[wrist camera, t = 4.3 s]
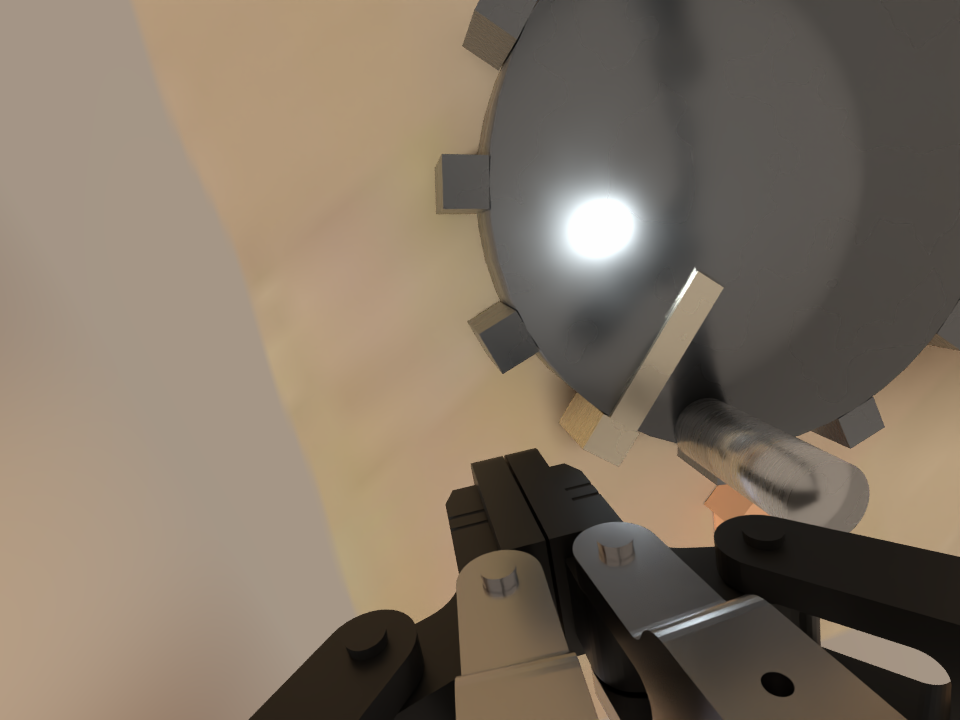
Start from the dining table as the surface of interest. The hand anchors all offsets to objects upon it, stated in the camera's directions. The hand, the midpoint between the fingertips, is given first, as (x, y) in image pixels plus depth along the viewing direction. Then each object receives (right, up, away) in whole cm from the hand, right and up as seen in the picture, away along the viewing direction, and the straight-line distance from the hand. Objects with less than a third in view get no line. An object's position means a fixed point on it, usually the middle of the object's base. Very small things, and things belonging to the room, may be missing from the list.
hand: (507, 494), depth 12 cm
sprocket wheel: (+6, +8, +3) cm, 10 cm away
